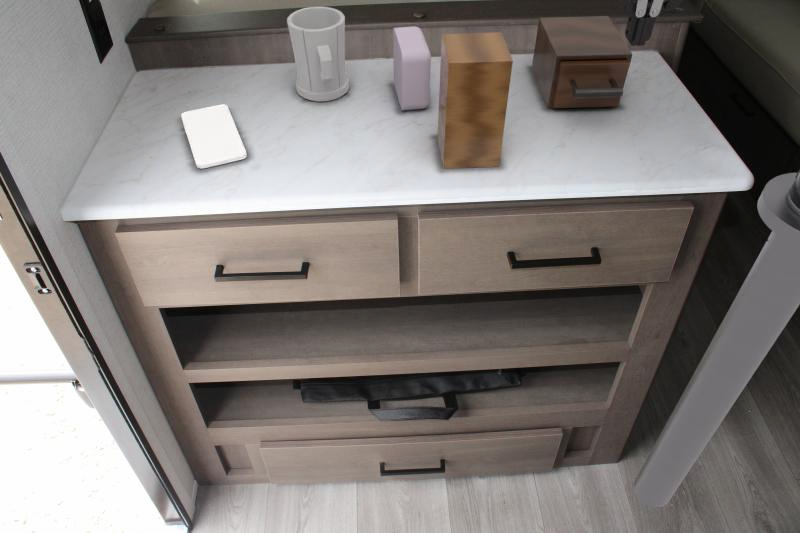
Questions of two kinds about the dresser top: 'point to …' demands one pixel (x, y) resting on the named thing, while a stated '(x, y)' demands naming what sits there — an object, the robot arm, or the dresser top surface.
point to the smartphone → (213, 136)
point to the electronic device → (411, 68)
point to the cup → (319, 52)
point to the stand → (473, 99)
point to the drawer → (590, 83)
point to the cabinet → (573, 47)
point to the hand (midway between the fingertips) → (635, 43)
